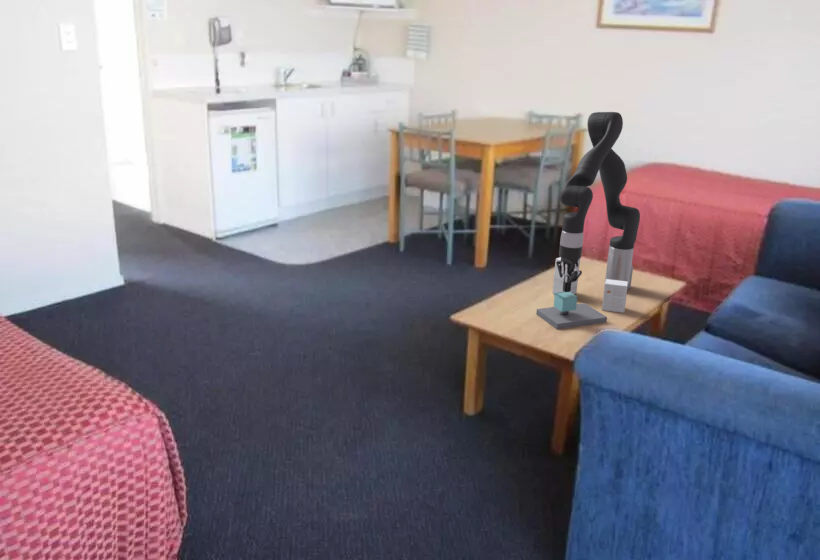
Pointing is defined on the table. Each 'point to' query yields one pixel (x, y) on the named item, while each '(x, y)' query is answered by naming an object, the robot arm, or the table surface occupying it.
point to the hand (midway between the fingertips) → (566, 291)
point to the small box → (615, 295)
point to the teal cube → (565, 301)
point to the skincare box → (559, 282)
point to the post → (564, 312)
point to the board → (571, 316)
